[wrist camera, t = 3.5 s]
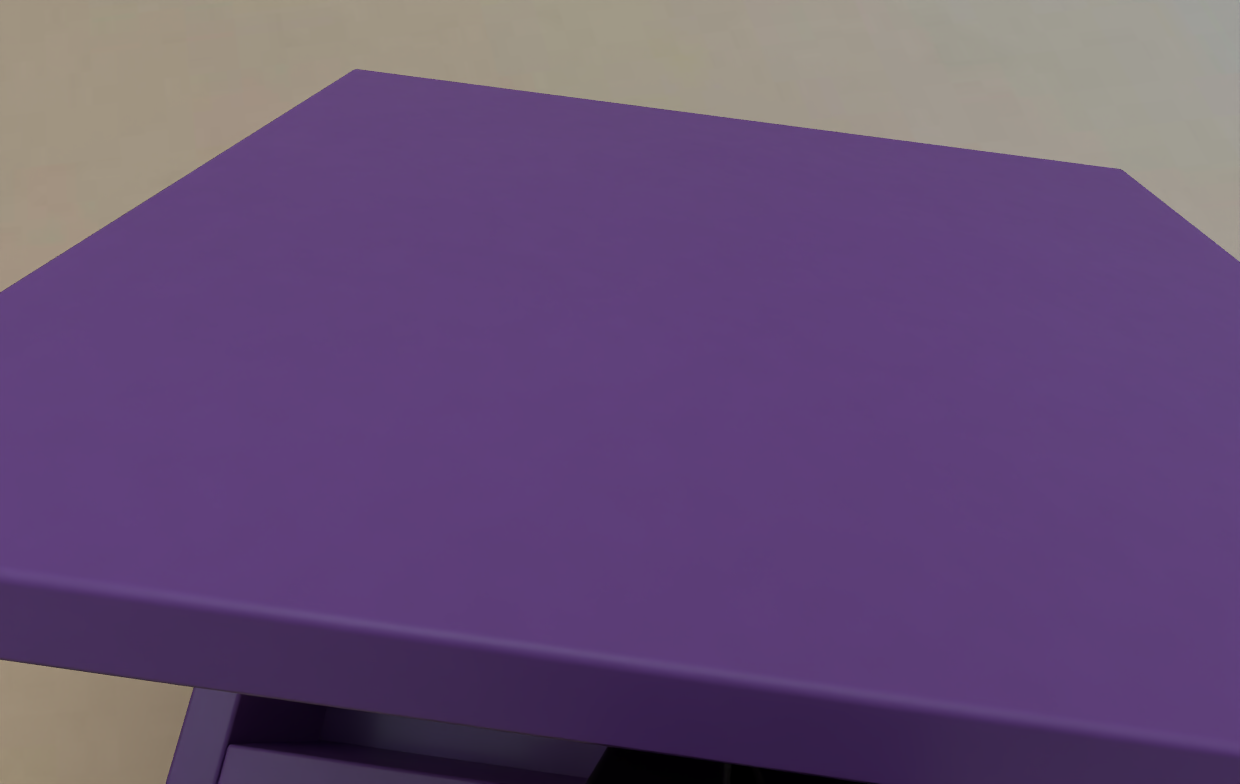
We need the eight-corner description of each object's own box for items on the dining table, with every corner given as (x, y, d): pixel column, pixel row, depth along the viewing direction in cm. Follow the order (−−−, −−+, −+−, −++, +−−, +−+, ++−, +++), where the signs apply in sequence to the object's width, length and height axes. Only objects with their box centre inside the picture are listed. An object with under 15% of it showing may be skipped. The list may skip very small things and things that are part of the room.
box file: (988, 874, 17) (1152, 935, 12) (284, 773, 17) (161, 790, 12) (980, 328, 21) (1100, 205, 16) (414, 252, 21) (361, 108, 16)
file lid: (1889, 935, 5) (2011, 858, 5) (-313, 621, 5) (-377, 521, 5) (1105, 212, 16) (1123, 168, 15) (355, 114, 16) (353, 67, 15)
